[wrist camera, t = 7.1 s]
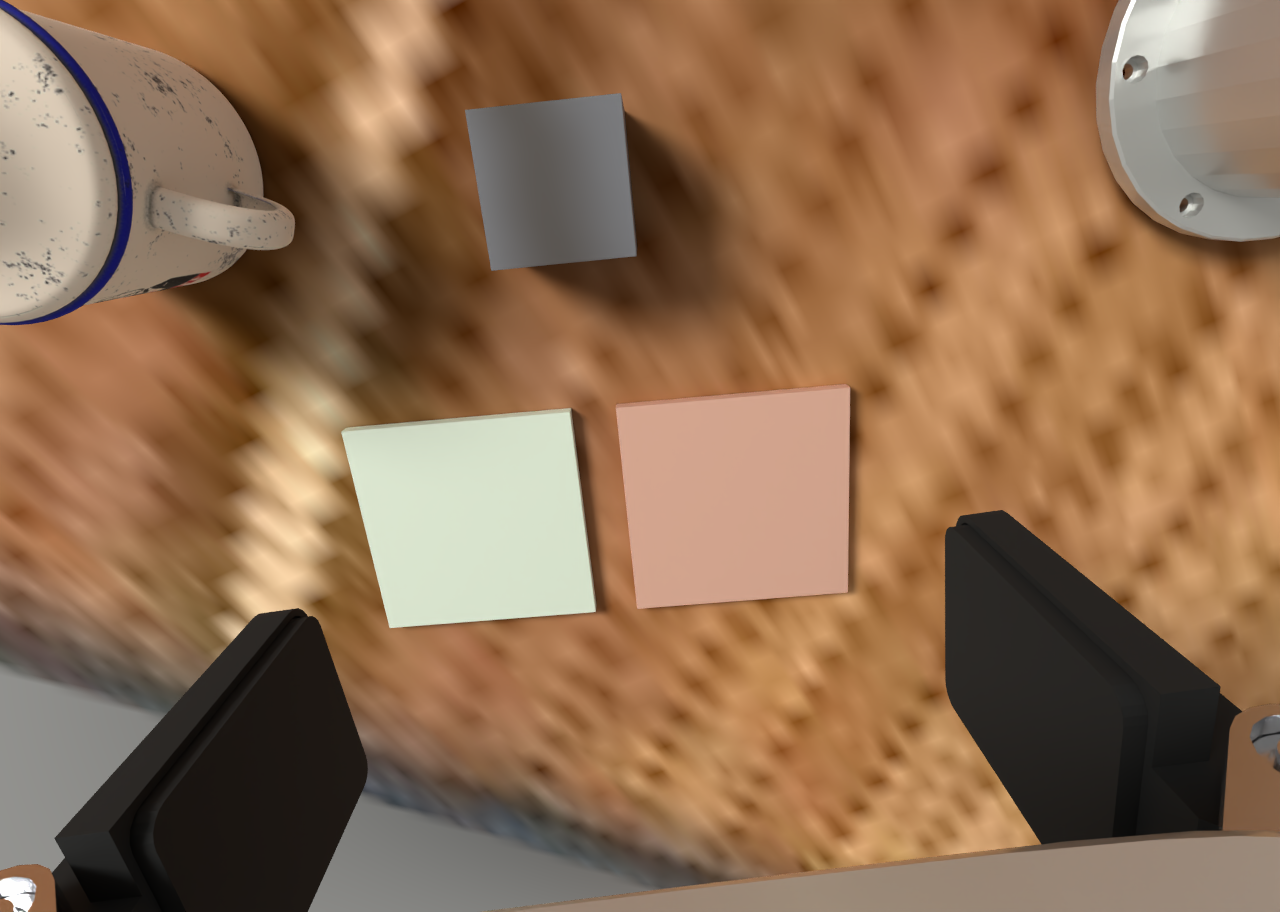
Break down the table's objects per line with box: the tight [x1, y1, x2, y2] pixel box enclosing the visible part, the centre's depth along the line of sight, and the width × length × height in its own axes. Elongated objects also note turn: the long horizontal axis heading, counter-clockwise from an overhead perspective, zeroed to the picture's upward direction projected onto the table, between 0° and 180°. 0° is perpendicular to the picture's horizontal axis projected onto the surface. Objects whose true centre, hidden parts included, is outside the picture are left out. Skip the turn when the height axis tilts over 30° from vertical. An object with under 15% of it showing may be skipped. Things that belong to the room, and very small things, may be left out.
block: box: [465, 93, 637, 271], centre depth 26 cm, size 5×5×5 cm
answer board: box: [342, 384, 850, 628], centre depth 32 cm, size 22×10×1 cm, turn 95°
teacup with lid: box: [0, 0, 295, 325], centre depth 22 cm, size 12×9×12 cm
